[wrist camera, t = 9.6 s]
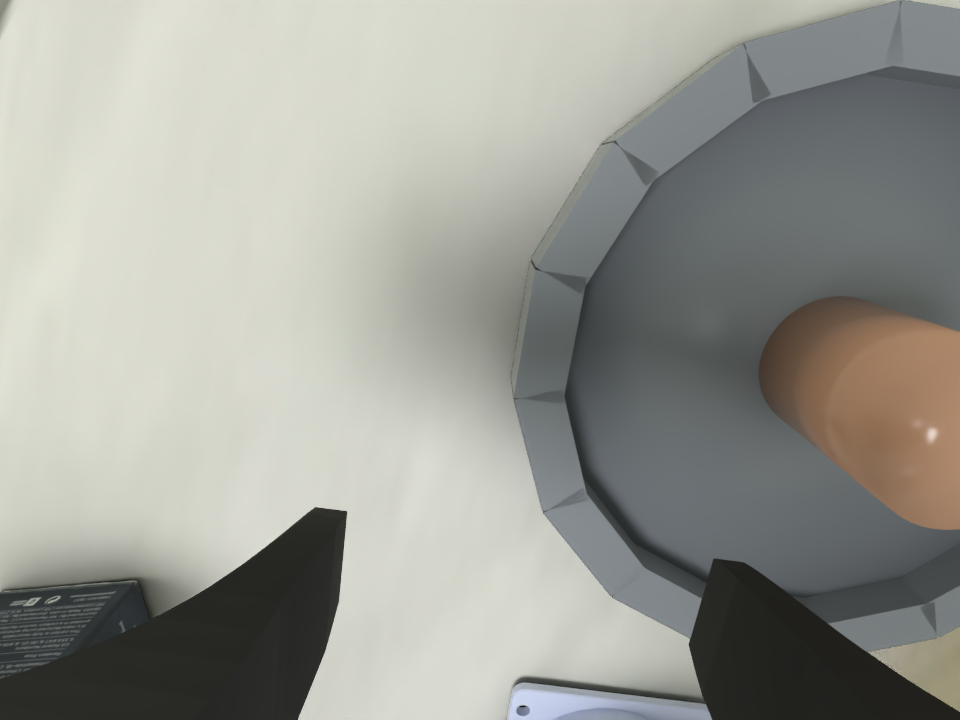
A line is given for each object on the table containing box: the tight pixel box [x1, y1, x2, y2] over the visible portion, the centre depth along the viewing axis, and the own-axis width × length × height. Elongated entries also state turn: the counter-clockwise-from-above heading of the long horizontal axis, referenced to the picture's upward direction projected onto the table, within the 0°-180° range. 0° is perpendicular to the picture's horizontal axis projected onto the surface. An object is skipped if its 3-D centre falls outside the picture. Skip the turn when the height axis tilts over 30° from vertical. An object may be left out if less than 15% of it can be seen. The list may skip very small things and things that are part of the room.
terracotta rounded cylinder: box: [759, 296, 960, 530], centre depth 17 cm, size 4×4×6 cm
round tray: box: [511, 0, 960, 652], centre depth 20 cm, size 20×20×2 cm
